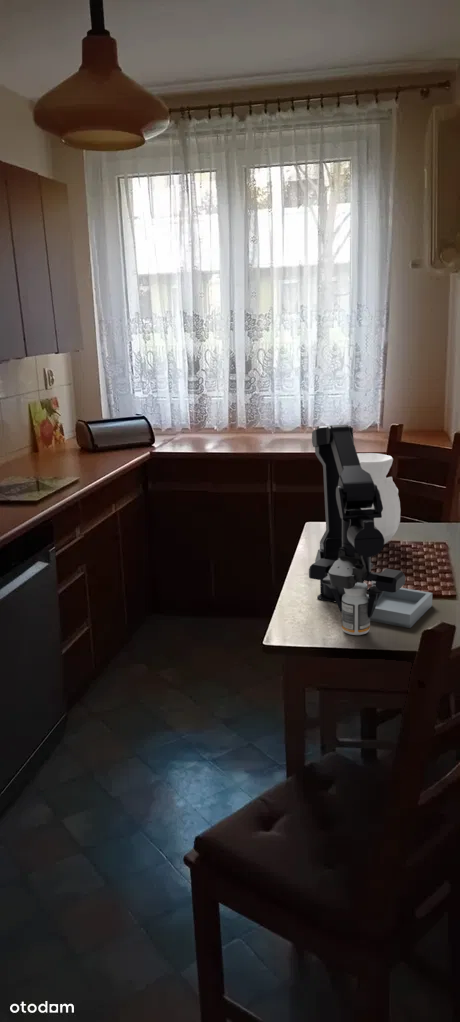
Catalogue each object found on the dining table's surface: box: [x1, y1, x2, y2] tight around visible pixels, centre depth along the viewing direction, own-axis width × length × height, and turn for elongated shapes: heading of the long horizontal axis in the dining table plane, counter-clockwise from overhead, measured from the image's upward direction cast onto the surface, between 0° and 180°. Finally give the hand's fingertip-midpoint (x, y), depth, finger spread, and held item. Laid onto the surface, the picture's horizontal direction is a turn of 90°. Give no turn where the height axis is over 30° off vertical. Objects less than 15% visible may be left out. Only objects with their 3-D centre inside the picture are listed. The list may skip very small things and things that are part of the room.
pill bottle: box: [341, 581, 371, 636], centre depth 160 cm, size 6×6×10 cm
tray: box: [367, 587, 433, 629], centre depth 170 cm, size 12×14×3 cm
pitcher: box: [357, 452, 402, 545], centre depth 214 cm, size 19×18×25 cm
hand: (355, 614), depth 160 cm, fingers closed on pill bottle, 6 cm apart
